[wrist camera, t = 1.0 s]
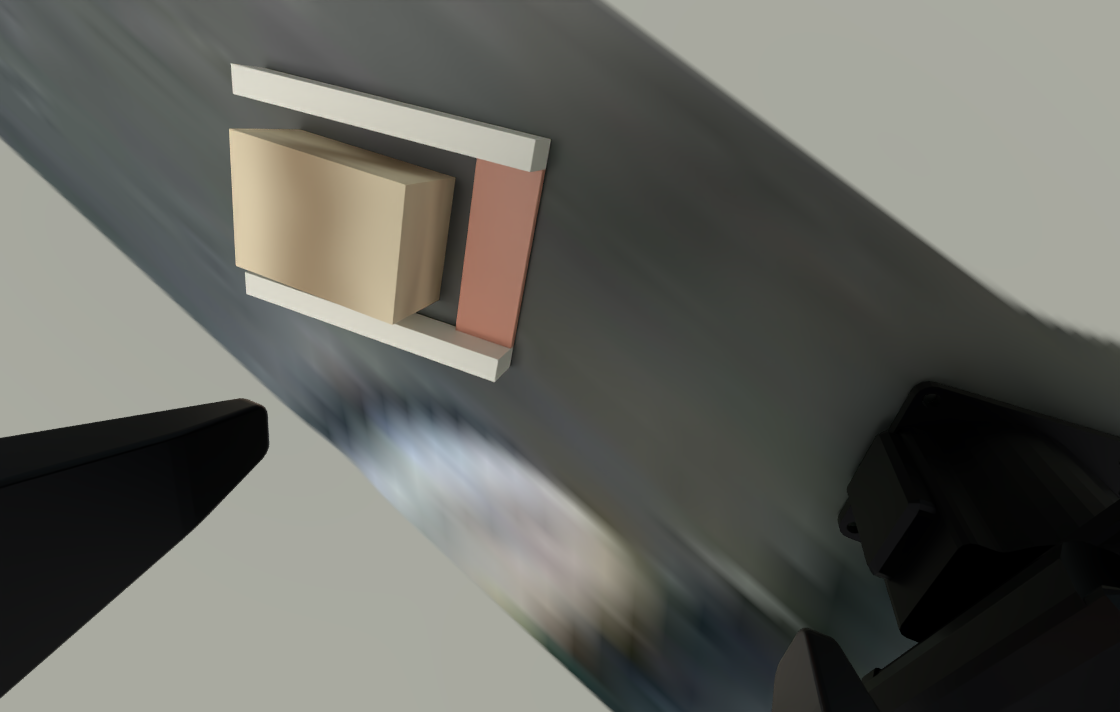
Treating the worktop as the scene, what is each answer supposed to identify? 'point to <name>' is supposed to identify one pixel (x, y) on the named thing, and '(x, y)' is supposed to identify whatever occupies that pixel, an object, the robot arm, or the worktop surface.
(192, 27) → the worktop surface
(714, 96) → the worktop surface
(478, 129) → the channel
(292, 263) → the birch block
